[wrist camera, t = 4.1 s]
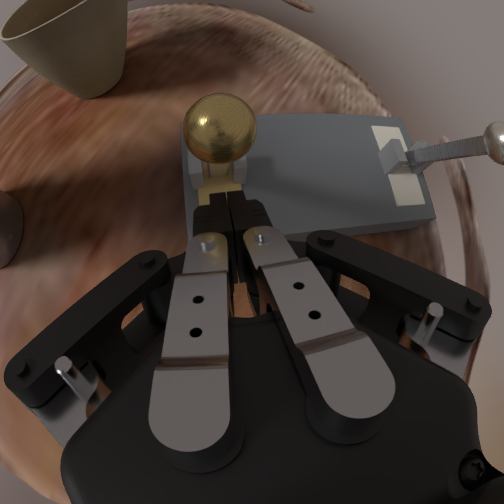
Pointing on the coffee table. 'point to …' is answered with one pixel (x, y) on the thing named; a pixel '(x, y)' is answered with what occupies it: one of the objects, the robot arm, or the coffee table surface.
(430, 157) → the silver lever
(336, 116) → the switch panel
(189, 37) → the coffee table surface
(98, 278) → the coffee table surface
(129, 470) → the robot arm
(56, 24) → the plant pot
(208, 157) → the brass lever
